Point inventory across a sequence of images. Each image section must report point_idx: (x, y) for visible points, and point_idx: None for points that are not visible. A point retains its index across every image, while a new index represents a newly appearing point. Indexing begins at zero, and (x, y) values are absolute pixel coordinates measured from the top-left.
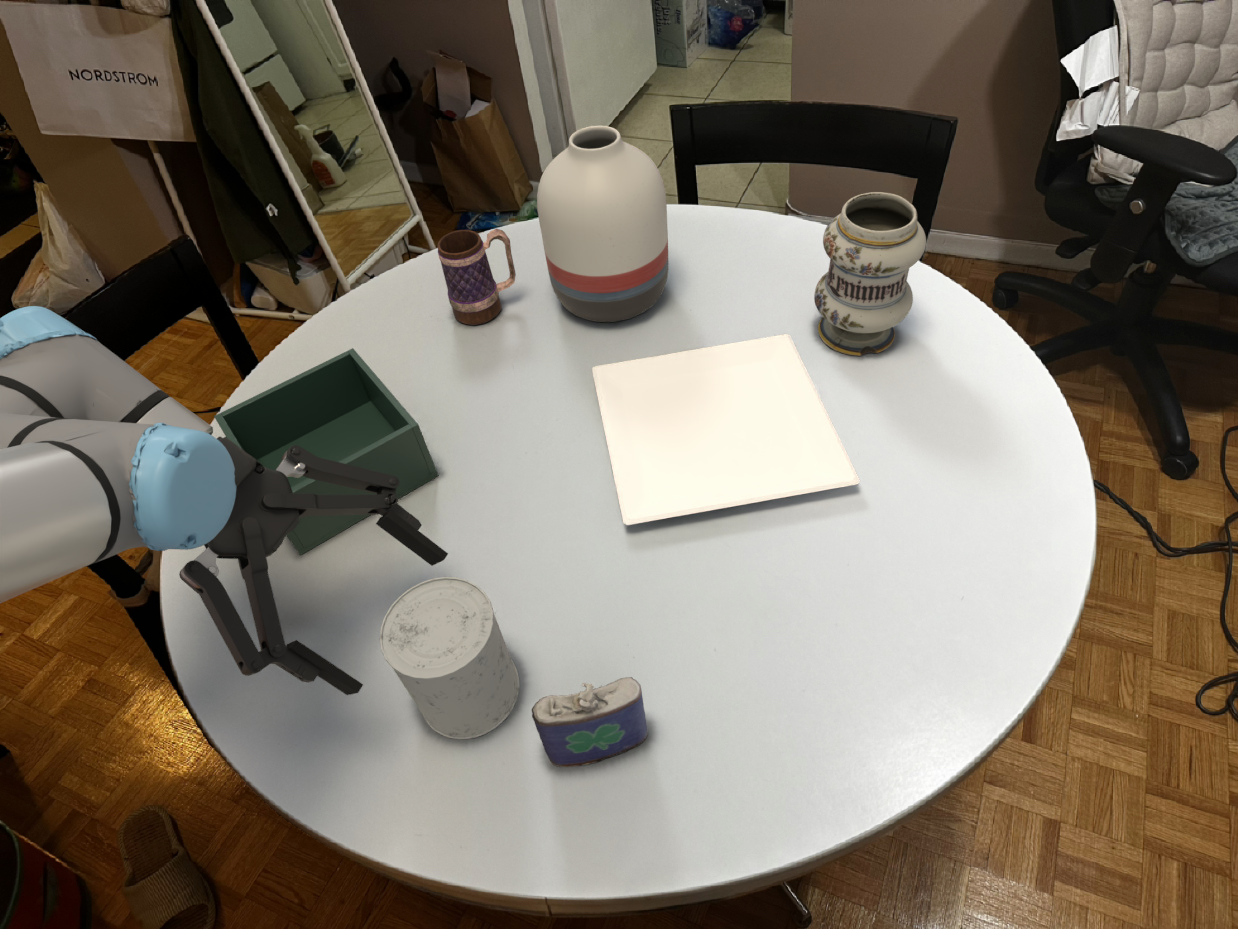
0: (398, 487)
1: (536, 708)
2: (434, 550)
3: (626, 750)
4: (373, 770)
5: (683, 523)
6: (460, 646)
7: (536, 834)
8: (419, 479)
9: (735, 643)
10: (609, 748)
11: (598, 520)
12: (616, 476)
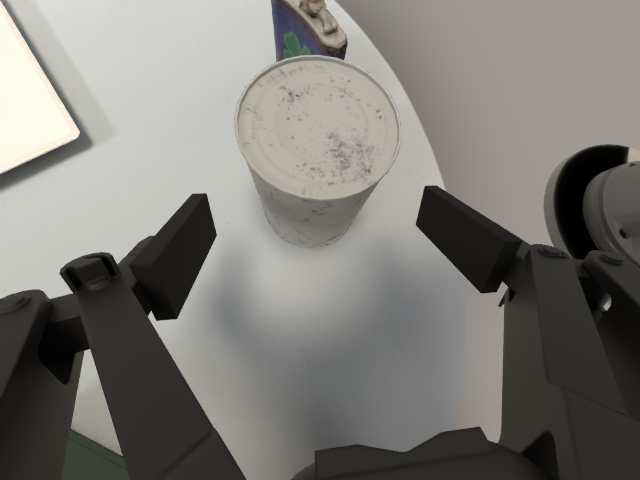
0: (78, 456)
1: (337, 43)
2: (196, 202)
3: None
4: (405, 239)
5: (66, 102)
6: (331, 84)
7: None
8: None
9: (188, 36)
10: None
11: (81, 179)
12: (1, 167)
